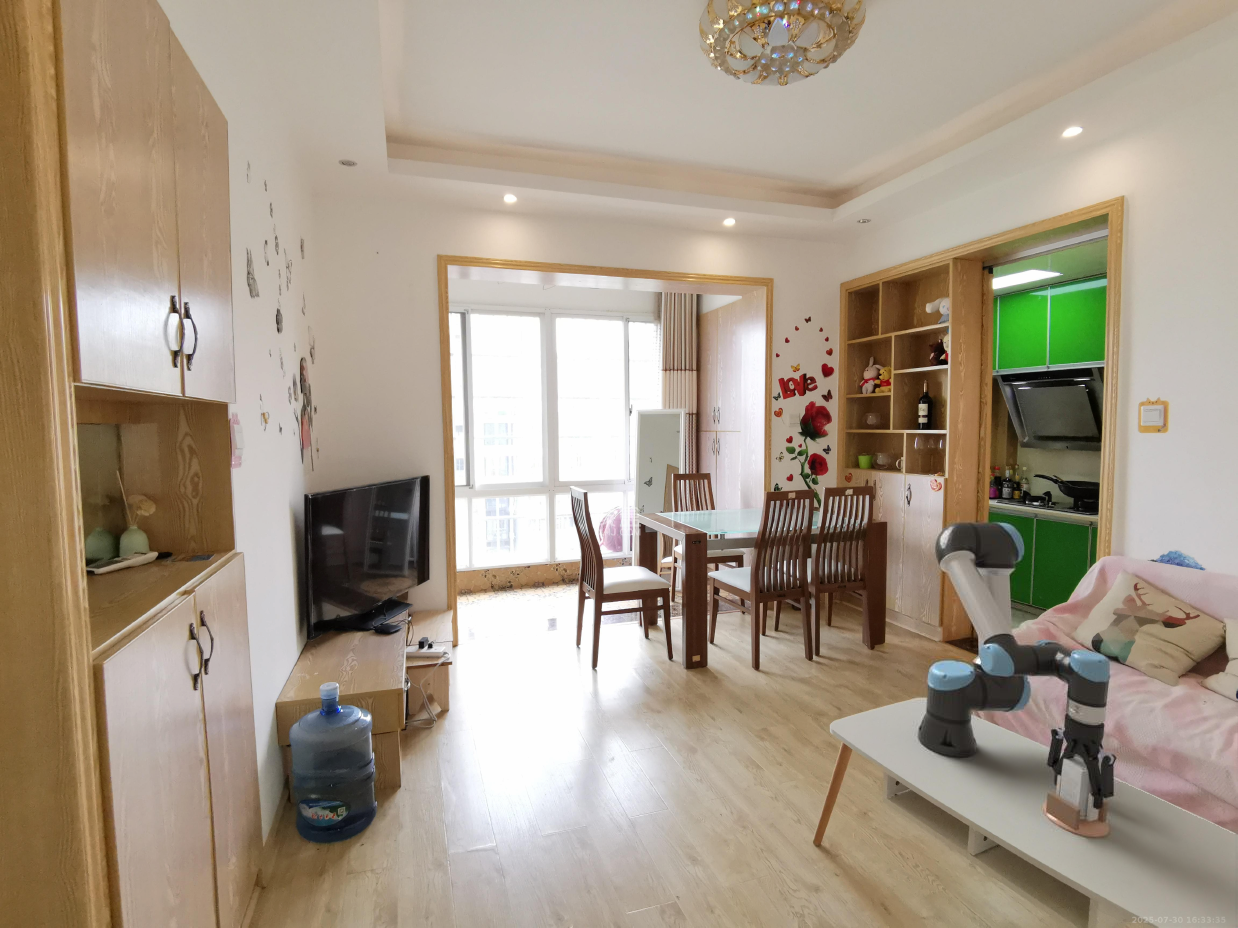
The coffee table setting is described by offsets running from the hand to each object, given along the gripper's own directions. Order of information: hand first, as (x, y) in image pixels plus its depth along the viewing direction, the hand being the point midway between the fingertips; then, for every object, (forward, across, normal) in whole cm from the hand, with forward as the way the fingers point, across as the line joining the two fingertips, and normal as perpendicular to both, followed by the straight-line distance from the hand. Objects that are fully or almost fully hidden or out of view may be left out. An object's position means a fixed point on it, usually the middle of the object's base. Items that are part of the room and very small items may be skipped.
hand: (1076, 809), depth 151 cm
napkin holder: (+2, 0, 0) cm, 2 cm away
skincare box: (+1, 0, 0) cm, 1 cm away
